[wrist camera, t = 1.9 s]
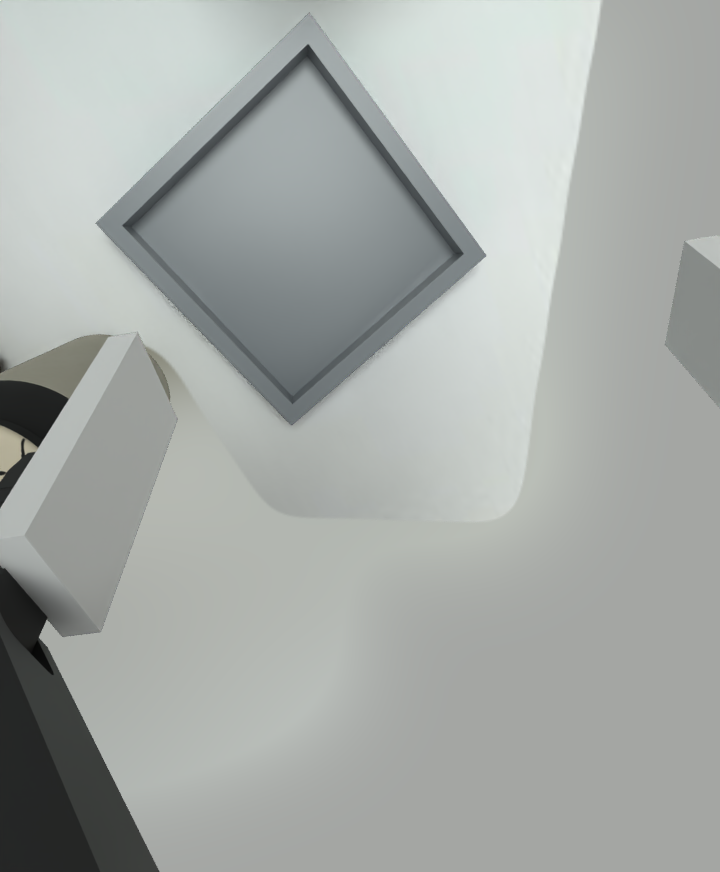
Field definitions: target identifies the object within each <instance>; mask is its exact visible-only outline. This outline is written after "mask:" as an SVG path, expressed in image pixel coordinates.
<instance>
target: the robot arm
mask: <svg viewBox="0 0 720 872" xmlns="http://www.w3.org/2000/svg"><path fill="white" fill-rule="evenodd" d="M665 345H666V347H667V348H668V349H669V350H670V351H671V352H672V354H673V355H674V356H675V357H676V358H677V359H678V360H679V362H680V363H681V364H682V365H683V366H684V368H685V369H686V370H687V371H688V372H689V373H690V374H691V376H692V377H693V378H694V379H695V380H696V381H697V382H698V384H699V385H700V386H701V387H702V388H703V389H704V391H705V392H706V393H707V394H708V395H709V396H710V398H711V399H712V400H713V401H714V402H715V403H716V404H717V405H718V407H719V408H720V236H719V235H717V236H711V237H705V238H699V239H693V240H687V241H684V246H683V251H682V256H681V262H680V267H679V272H678V278H677V283H676V288H675V294H674V299H673V304H672V309H671V315H670V320H669V325H668V331H667V336H666V341H665ZM176 423H177V417H176V415H175V412H174V410H173V408H172V406H171V404H170V401H169V399H168V397H167V395H166V393H165V390H164V388H163V386H162V384H161V382H160V379H159V377H158V375H157V373H156V371H155V369H154V366H153V364H152V362H151V360H150V358H149V355H148V353H147V351H146V349H145V347H144V344H143V342H142V340H141V338H140V336H139V334H138V332H135V333H129V334H123V335H117V336H111V337H108V338H107V340H106V341H105V343H104V345H103V346H102V348H101V349H100V351H99V353H98V354H97V356H96V357H95V359H94V360H93V362H92V364H91V365H90V367H89V368H88V370H87V372H86V373H85V375H84V376H83V378H82V380H81V381H80V383H79V384H78V386H77V387H76V389H75V391H74V392H73V394H72V395H71V397H70V399H69V400H68V402H67V403H66V405H65V406H64V408H63V410H62V411H61V413H60V414H59V416H58V418H57V419H56V421H55V422H54V424H53V425H52V427H51V429H50V430H49V432H48V433H47V435H46V437H45V438H44V440H43V441H42V443H41V445H40V446H39V448H38V449H37V451H36V452H30V453H27V454H26V455H25V456H24V457H23V458H21V459H20V460H19V461H18V462H17V463H16V464H15V465H13V466H12V467H11V468H10V469H9V470H8V471H7V473H6V474H5V476H4V477H3V479H2V480H1V482H0V872H159V870H158V868H157V866H156V864H155V862H154V860H153V858H152V856H151V854H150V852H149V850H148V848H147V846H146V844H145V842H144V840H143V838H142V836H141V834H140V832H139V830H138V828H137V826H136V824H135V822H134V820H133V818H132V816H131V814H130V812H129V810H128V808H127V806H126V804H125V802H124V800H123V798H122V796H121V794H120V792H119V790H118V788H117V786H116V784H115V782H114V780H113V778H112V776H111V774H110V772H109V770H108V768H107V766H106V764H105V762H104V760H103V758H102V756H101V754H100V752H99V750H98V748H97V746H96V744H95V742H94V740H93V738H92V736H91V734H90V732H89V730H88V728H87V726H86V724H85V722H84V720H83V718H82V716H81V714H80V712H79V710H78V708H77V706H76V704H75V702H74V700H73V698H72V696H71V694H70V692H69V690H68V688H67V686H66V684H65V682H64V680H63V678H62V676H61V674H60V672H59V670H58V668H57V666H56V663H55V662H54V660H53V658H52V655H51V653H50V651H49V650H48V647H47V646H46V645H45V644H44V643H43V642H42V641H41V640H40V639H39V635H40V633H41V631H42V629H43V626H44V624H45V622H46V620H48V621H49V622H50V623H51V624H52V625H53V627H54V628H55V629H56V630H57V631H58V632H59V634H60V635H61V636H62V637H66V636H74V635H82V634H90V633H97V632H101V630H102V628H103V625H104V622H105V619H106V616H107V614H108V611H109V608H110V605H111V603H112V600H113V597H114V594H115V591H116V589H117V586H118V583H119V581H120V578H121V575H122V572H123V569H124V567H125V564H126V561H127V558H128V556H129V553H130V550H131V547H132V544H133V542H134V539H135V536H136V533H137V531H138V528H139V525H140V522H141V520H142V517H143V514H144V511H145V508H146V506H147V503H148V500H149V497H150V495H151V492H152V489H153V486H154V484H155V481H156V478H157V475H158V472H159V470H160V467H161V464H162V461H163V459H164V456H165V453H166V450H167V448H168V445H169V442H170V439H171V436H172V434H173V431H174V428H175V425H176Z"/></svg>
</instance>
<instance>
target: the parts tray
mask: <svg viewBox="0 0 720 872" xmlns="http://www.w3.org/2000/svg"><path fill="white" fill-rule="evenodd" d="M96 224H97V225H98V226H99V227H100V228H101V230H102V231H103V232H104V233H105V234H106V235H107V236H108V237H109V238H110V239H111V240H112V241H113V242H114V243H115V244H116V245H117V246H118V247H119V248H120V249H121V250H122V251H123V252H124V253H125V254H126V255H127V256H128V257H129V258H130V259H131V260H132V261H133V263H134V264H135V265H136V266H137V267H138V268H139V269H140V270H141V271H142V272H143V273H144V274H145V275H146V276H147V277H148V278H149V279H150V280H151V281H152V282H153V283H154V284H155V285H156V286H157V287H158V288H159V289H160V290H161V291H162V292H163V293H164V294H165V296H166V297H167V298H168V299H169V300H170V301H171V302H172V303H173V304H174V305H175V306H176V307H177V308H178V309H179V310H180V311H181V312H182V313H183V314H184V315H185V316H186V317H187V318H188V319H189V320H190V321H191V322H192V323H193V324H194V325H195V326H196V327H197V329H198V330H199V331H200V332H201V333H202V334H203V335H204V336H205V337H206V338H207V339H208V340H209V341H210V342H211V343H212V344H213V345H214V346H215V347H216V348H217V349H218V350H219V351H220V352H221V353H222V354H223V355H224V356H225V357H226V358H227V359H228V361H229V362H230V363H231V364H232V365H233V366H234V367H235V368H236V369H237V370H238V371H239V372H240V373H241V374H242V375H243V376H244V377H245V378H246V379H247V380H248V381H249V382H250V383H251V384H252V385H253V386H254V387H255V388H256V389H257V390H258V391H259V392H260V394H261V395H262V396H263V397H264V398H265V399H266V400H267V401H268V402H269V403H270V404H271V405H272V406H273V407H274V408H275V409H276V410H277V411H278V412H279V413H280V414H281V415H282V416H283V417H284V418H285V419H286V420H287V421H288V422H289V423H290V424H291V425H293V424H294V423H295V422H296V421H297V420H298V419H300V418H301V417H302V416H303V415H304V414H305V413H306V412H308V411H309V410H310V409H311V408H312V407H313V406H315V405H316V404H317V403H318V402H319V401H320V400H321V399H323V398H324V397H325V396H326V395H327V394H328V393H329V392H331V391H332V390H333V389H334V388H335V387H336V386H337V385H339V384H340V383H341V382H342V381H343V380H344V379H346V378H347V377H348V376H349V375H350V374H351V373H352V372H354V371H355V370H356V369H357V368H358V367H359V366H360V365H362V364H363V363H364V362H365V361H366V360H367V359H368V358H370V357H371V356H372V355H373V354H374V353H375V352H377V351H378V350H379V349H380V348H381V347H382V346H383V345H385V344H386V343H387V342H388V341H389V340H390V339H391V338H393V337H394V336H395V335H396V334H397V333H398V332H399V331H401V330H402V329H403V328H404V327H405V326H406V325H408V324H409V323H410V322H411V321H412V320H413V319H414V318H416V317H417V316H418V315H419V314H420V313H421V312H422V311H424V310H425V309H426V308H427V307H428V306H429V305H430V304H432V303H433V302H434V301H435V300H436V299H437V298H439V297H440V296H441V295H442V294H443V293H444V292H445V291H447V290H448V289H449V288H450V287H451V286H452V285H453V284H455V283H456V282H457V281H458V280H459V279H460V278H461V277H463V276H464V275H465V274H466V273H467V272H468V271H470V270H471V269H472V268H473V267H474V266H475V265H476V264H478V263H479V262H480V261H481V260H482V259H483V258H484V257H486V254H485V253H484V252H483V250H482V249H481V247H480V246H479V245H478V243H477V242H476V241H475V239H474V238H473V236H472V235H471V234H470V232H469V231H468V230H467V228H466V227H465V225H464V224H463V223H462V221H461V220H460V219H459V217H458V216H457V214H456V213H455V212H454V210H453V209H452V208H451V206H450V205H449V203H448V202H447V201H446V199H445V198H444V197H443V195H442V194H441V192H440V191H439V190H438V188H437V187H436V186H435V184H434V183H433V181H432V180H431V179H430V177H429V176H428V175H427V173H426V172H425V170H424V169H423V168H422V166H421V165H420V164H419V162H418V161H417V159H416V158H415V157H414V155H413V154H412V153H411V151H410V150H409V148H408V147H407V146H406V144H405V143H404V142H403V140H402V139H401V137H400V136H399V135H398V133H397V132H396V131H395V129H394V128H393V126H392V125H391V124H390V122H389V121H388V120H387V118H386V117H385V115H384V114H383V113H382V111H381V110H380V109H379V107H378V106H377V104H376V103H375V102H374V100H373V99H372V98H371V96H370V95H369V93H368V92H367V91H366V89H365V88H364V87H363V85H362V84H361V82H360V81H359V80H358V78H357V77H356V76H355V74H354V73H353V71H352V70H351V69H350V67H349V66H348V65H347V63H346V62H345V60H344V59H343V58H342V56H341V55H340V54H339V52H338V51H337V49H336V48H335V47H334V45H333V44H332V43H331V41H330V40H329V38H328V37H327V36H326V34H325V33H324V32H323V30H322V29H321V27H320V26H319V25H318V23H317V22H316V21H315V19H314V18H313V16H312V15H311V14H310V12H309V13H308V14H307V15H306V16H305V17H304V18H303V19H302V20H301V21H300V22H299V23H298V24H297V25H296V26H295V27H294V28H293V29H292V30H291V31H290V32H289V33H288V34H287V35H286V36H285V37H284V38H283V39H282V40H281V41H280V42H279V43H278V44H277V45H276V46H275V47H274V48H273V49H272V50H271V51H270V52H269V53H268V54H267V55H266V56H265V57H264V58H263V59H262V60H261V61H260V62H259V63H258V64H257V65H256V66H255V67H254V68H253V69H252V70H251V71H250V72H249V73H248V74H246V75H245V76H244V77H243V78H242V79H241V80H240V81H239V82H238V83H237V84H236V85H235V86H234V87H233V88H232V89H231V90H230V91H229V92H228V93H227V94H226V95H225V96H224V97H223V98H222V99H221V100H220V101H219V102H218V103H217V104H216V105H215V106H214V107H213V108H212V109H211V110H210V111H209V112H208V113H207V114H206V115H205V116H204V117H203V118H202V119H201V120H200V121H199V122H198V123H197V124H196V125H195V126H194V127H193V128H192V129H191V130H190V131H189V132H188V133H187V134H186V135H185V136H184V137H183V138H182V139H181V140H180V141H179V142H178V143H177V144H176V145H175V146H174V147H172V148H171V149H170V150H169V151H168V152H167V153H166V154H165V155H164V156H163V157H162V158H161V159H160V160H159V161H158V162H157V163H156V164H155V165H154V166H153V167H152V168H151V169H150V170H149V171H148V172H147V173H146V174H145V175H144V176H143V177H142V178H141V179H140V180H139V181H138V182H137V183H136V184H135V185H134V186H133V187H132V188H131V189H130V190H129V191H128V192H127V193H126V194H125V195H124V196H123V197H122V198H121V199H120V200H119V201H118V202H117V203H116V204H115V205H114V206H113V207H112V208H111V209H110V210H109V211H108V212H107V213H106V214H105V215H104V216H103V217H102V218H101V219H100V220H98V221H97V222H96Z"/></svg>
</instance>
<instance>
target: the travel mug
mask: <svg viewBox="0 0 720 872" xmlns="http://www.w3.org/2000/svg"><path fill="white" fill-rule="evenodd" d="M108 337H111V335H89V336H84V337H80V338H77V339H75V340H73V341H70V342H68V343H66V344H64V345H61V346H59V347H57V348H55V349H53V350H50V351H48V352H46V353H44V354H42V355H39V356H37V357H35V358H33V359H31V360H28V361H26V362H24V363H22V364H19V365H17V366H15V367H13V368H11V369H8V370H6V371H4V372H2V373H0V482H1V480H2V479H3V477H4V476H5V474H6V473H7V471H8V470H9V469H10V468H11V467H12V466H13V465H15V464H16V463H17V462H18V461H19V460H20V459H21V458H23V457H24V456H25V455H26V454H27V453H30V452H36V451H37V449H38V448H39V446H40V445H41V443H42V441H43V440H44V438H45V437H46V435H47V433H48V432H49V430H50V429H51V427H52V425H53V424H54V422H55V421H56V419H57V418H58V416H59V414H60V413H61V411H62V410H63V408H64V406H65V405H66V403H67V402H68V400H69V399H70V397H71V395H72V394H73V392H74V391H75V389H76V387H77V386H78V384H79V383H80V381H81V380H82V378H83V376H84V375H85V373H86V372H87V370H88V368H89V367H90V365H91V364H92V362H93V360H94V359H95V357H96V356H97V354H98V353H99V351H100V349H101V348H102V346H103V345H104V343H105V341H106V340H107V338H108ZM148 355H149V354H148ZM149 358H150V360H151V362H152V364H153V366H154V369H155V371H156V373H157V375H158V377H159V379H160V382H161V384H162V386H163V388H164V390H165V393H166V395H167V397H168V399H169V401H170V394H169V393H170V392H169V388H168V383H167V380H166V378H165V375H164V374H163V372H162V370H161V368H160V367H159V365H158V364H157V362H156V361H155V360H154V359H153V358H152V357H151V356H150V355H149Z"/></svg>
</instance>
